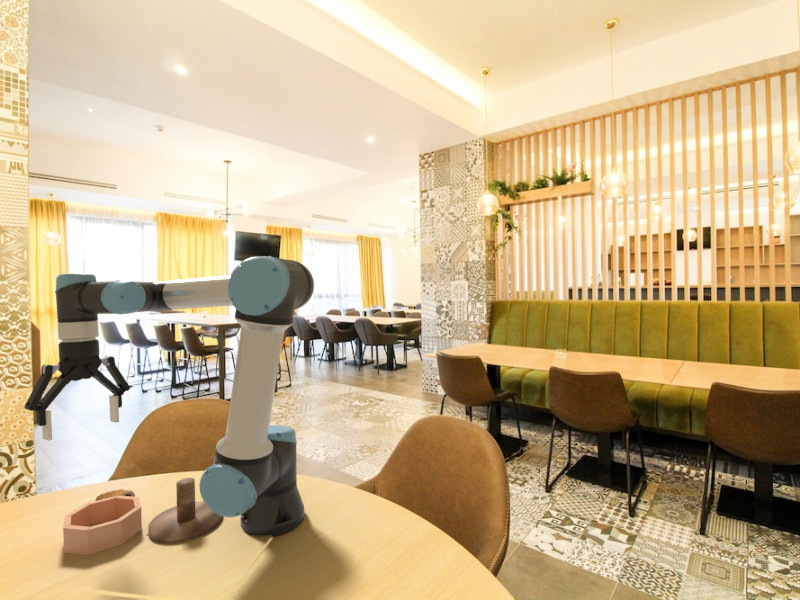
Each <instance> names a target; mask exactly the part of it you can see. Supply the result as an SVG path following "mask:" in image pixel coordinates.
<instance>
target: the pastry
mask: <svg viewBox="0 0 800 600" xmlns="http://www.w3.org/2000/svg"><path fill="white" fill-rule="evenodd" d="M114 496H131V497H136V494H135V492H134V491H133V490H131V489H129V490H128V489H124V488H121V489H120V488H119V489H114V490H110V491H107V492H104V493H101V494H99V495H98V496H96V499H95V501H98V500H102V499H106V498H110V497H114Z"/></svg>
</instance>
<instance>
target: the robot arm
mask: <svg viewBox="0 0 800 600" xmlns="http://www.w3.org/2000/svg"><path fill="white" fill-rule="evenodd" d="M314 289H315V282H314V278H313V275H312V273H311V271H310V270H309V269H308V267H306V265H304V264H303V263H301V262H299V261H297V260H293V259H292V260H291V259H285V258H279V257H274V256H271V255H269V256H265V255H262V256H260V255H259V256H251V257H249V258H246V259H244V260H243V261H241V262H240V263H238V264H237V266H235V268H233V270H232V272H231V274H230V275H220V276H208V277H197V278H196V277H195V278H185V279H175V280H163V281H133V280H126V279H125V280H122V279H119V280H117V279H116V280H112V281H111V280H107V281H97V277H96V275H95V274H93V273H61V274H59V275H57V276H56V279H55V291H54V293H55V300H56V301H55V302H56V303H55V304H56V315H57V316H56V317H57V337H58V340H60V341H59V343H58V345H57V346H58V358H59V362H58V363H57V364H46V363H45V364H42V366H41V370H40V371H41V372H40V373H41V374H40V376H39V378H38V380H37V382H36V384H35V385H34V387H33V389H32V391H31V393H30V395H29V397H28V399H27V401H26V403H25V405H24V406H23V407H24V409H25V410H29V411H35V415H36V416H35V418H36V420H35V421H36V425H37V426H39V427H41V428H42V430H41V432H42V433H41V434H42V439H43V440H44V441H52V440H53V429H52V428H53V427H52V426H53V425H52V410H51V409H49V407H50V406H51V404H52V403H53V401H55V399H56V398H57V397H58V395H60V393H61V392H62V391H63V389H65V387H66V386H67V385H69V383H70V382H71V381H75V382H77V381H81V380H87V379H91V378H93V379H94V380H95V381H97V382H99V384H101V385H102V386H103V387H105V389H107V390H109V392H111V393H112V394H109V395H108V398H109V399H108V400H109V402H108V403H109V422H112V423H115V424H116V423H119V422H120V410H119V409H120V408H122V406H123V395H124V394H125V392H128V391H129V390H131V387H130V385H129V383H128V382H127V381H126V379H125V377H124V375H123V374H122V373H121V371H120V369H119V368H118V367H117V365H116V360H115V356H111V355H110V356H109V355H105V357H103V358H101V357H100V342H99V341H100V340H98V339H96V338H98V337H99V336H100V335H99V317H98V315H101V314H103V315H104V314H105V315H112V314H115V315H127V314H128V315H129V314H134V313H143V312H163V311H165V312H166V311H167V312H168V311H172V310H185V309H199V308H217V307H230V306H233V307H234V308H235V313H234V319H235V321H236V322H237V323H238V325H240V333H239V340H238V346H237V354H236V361H235V368H234V373H233V381H232V387H231V388H232V389H231V395H230V402H229V411H228V414H227V415H228V417H227V423H226V430H225V436H223V438H220V439H219V440H218V442H216V446H215V451H214V452H215V453H214V458H213V459H214V460H213V463H212V465H210V466H209V467H207V468H206V469H205V471H204V472H203V473H202V474H201V478H200V480H199V493H200V497H201V499H202V501H204V502H205V503H206V504H207V505H208V507H209V508H210V509H211V510H212V511H213V512H215V513H216V514H218V515H220V516H222V517H224V518H236V517H238V516H239V517H240V527H241V529H242V530H243V532H245V533H247V534H248V535H253V536H258V537H268V536H270V538H271V537H277V536H282V535H284V534H286V533H289V532H291V531H293V530H294V529H296V528H297V527H298V526H299V525H301V523H303V521H304V518H305V504H304V503H303V499H302V496H301V494H300V491H299V488H298V486H297V485H298V483H297V482H298V480H297V477H298V476H297V443H298V442H297V436H296V435H297V434H296V430H295V429H294V428H292V427H290V426H288V425H287V426H286V425H277V424H276V425H273V424H272V425H270V423H271V417H272V411H273V403H274V397H275V390H276V385H277V376H278V372H279V371H278V370H279V364H280V359H281V358H280V357H281V351H282V345H283V337H284V332H285V331H286V330H287V329H289V328H290V327H291V326H292V325H293V321H294V315H295V311H296V310H297V309H300V308H302V307H303V306H305V305H306V304H307V303H308V302H309V301H310V300H311V299H312V296H313V293H314ZM101 365H103V366H104V367H105V368H106V370H107V371H108V372H109V374H110V376H111V377H112V379H113V380H114V382H115V383H114V382H113V381H111V380H110V379H109V378H108V377H107V376H105V375H104V373H102V372H101V371H100V370H99V368H100V367H101ZM57 371H58V372H59V373H60V375H59V376H58V378H57V379H56V381H55V383H53V385H51V387H50V388H49V389H48V390H47V392H46V393H45V391H46V389H47V388H48V386H49V383H50V382H51V380H52V378H53V375H54V374H56V372H57ZM44 394H45V395H44Z"/></svg>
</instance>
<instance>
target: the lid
mask: <svg viewBox="0 0 800 600" xmlns="http://www.w3.org/2000/svg"><path fill="white" fill-rule="evenodd" d="M175 489H176V491H175V492H176V505H175V506H173V507H170V508H168V509H165V510H163V511H162V512H160V513H159V514H157V515H155V516H154V517H153V518H152V519H151V521H150V522H149V524H148V527H147V529H148V531H147V532H148V533H147V534H149V536H148V537H149V538H150V539H151V540H153V541H154V542H158V543H164V544H165V543H167V544H168V543H169V544H172V543H180V542H186V541H189V540H191V539H193V538H195V539H196V538H198V537H200V536H203V535H205V534H206V533H208V532H210V531H212V530H213V529H214V528H216V527H217V526H218V525H219V524H220V523H221V521H222V519H223V516H220V515H218V514H216V513H215V512H213V511H212V510H211V509H210V508H209V507H208V505H207V504H206V503H205V502H204V501H203V500H202V501H201V500H199V501H196V480H195V478H194V477H185V478H181V479H180V480H177V482H176V487H175Z"/></svg>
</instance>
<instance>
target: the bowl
mask: <svg viewBox="0 0 800 600" xmlns="http://www.w3.org/2000/svg"><path fill="white" fill-rule="evenodd" d="M142 518H143V517H142V504H141V500H140V497H139V496H135V497H131V496H114V497H110V498H106V499H102V500H98V501H90V502H87V503H86V504H84V505H82V506H80V507H78V508H77V509H74V510H73V511H71V512H70V513H68V514H66V515H64V518H63V519H64V521H63V526H62V527H63V530H62V531H63V532H62V533H63V535H62V536H63V554H70V555H71V554H72V555H81V556H82V555H83V556H91V555H93V554H97V553H101V552H104V551H106V550H107V551H108V550H111V549H113V548H117V547H119V546H122V545H124V544H125V543H126V542H127V541H129V540H130V539H131V538H133V537H134V536H136V535H137V534H138V533H140V531H142V530H143V527H142V526H143V524H142V523H143V522H142V521H143V520H142Z"/></svg>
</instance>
